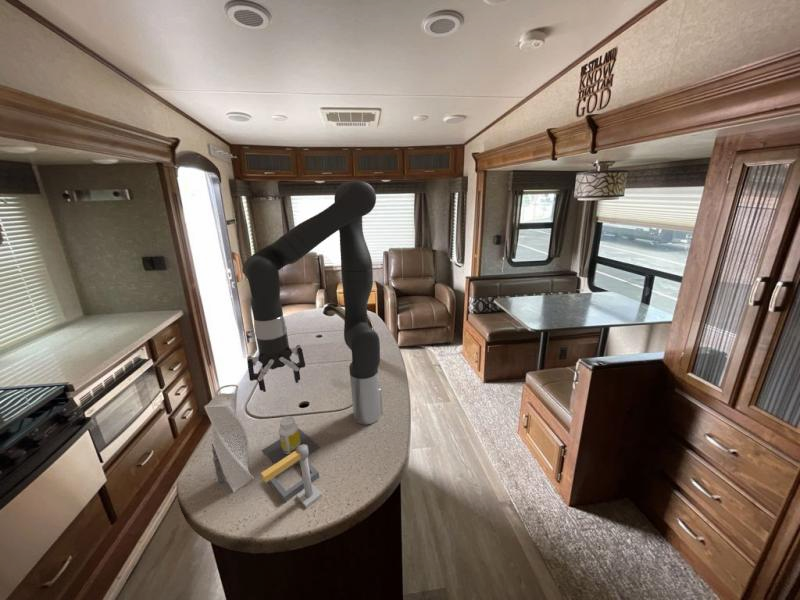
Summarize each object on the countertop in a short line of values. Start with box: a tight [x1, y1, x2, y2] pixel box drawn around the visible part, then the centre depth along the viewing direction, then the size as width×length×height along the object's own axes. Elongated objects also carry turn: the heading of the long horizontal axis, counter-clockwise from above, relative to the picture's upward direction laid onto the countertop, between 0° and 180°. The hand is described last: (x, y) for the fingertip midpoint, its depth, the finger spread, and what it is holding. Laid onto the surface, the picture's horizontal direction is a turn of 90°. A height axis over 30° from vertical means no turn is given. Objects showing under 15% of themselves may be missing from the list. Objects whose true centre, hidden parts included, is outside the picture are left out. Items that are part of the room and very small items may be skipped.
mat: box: [262, 427, 321, 465], centre depth 93 cm, size 12×12×1 cm
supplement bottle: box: [278, 415, 301, 454], centre depth 91 cm, size 5×5×10 cm
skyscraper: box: [204, 384, 255, 498], centre depth 79 cm, size 8×8×28 cm
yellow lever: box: [260, 444, 309, 483], centre depth 71 cm, size 11×3×2 cm, turn 138°
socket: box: [267, 456, 323, 509], centre depth 79 cm, size 10×15×13 cm, turn 47°
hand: (280, 385), depth 86 cm, fingers open, 8 cm apart
